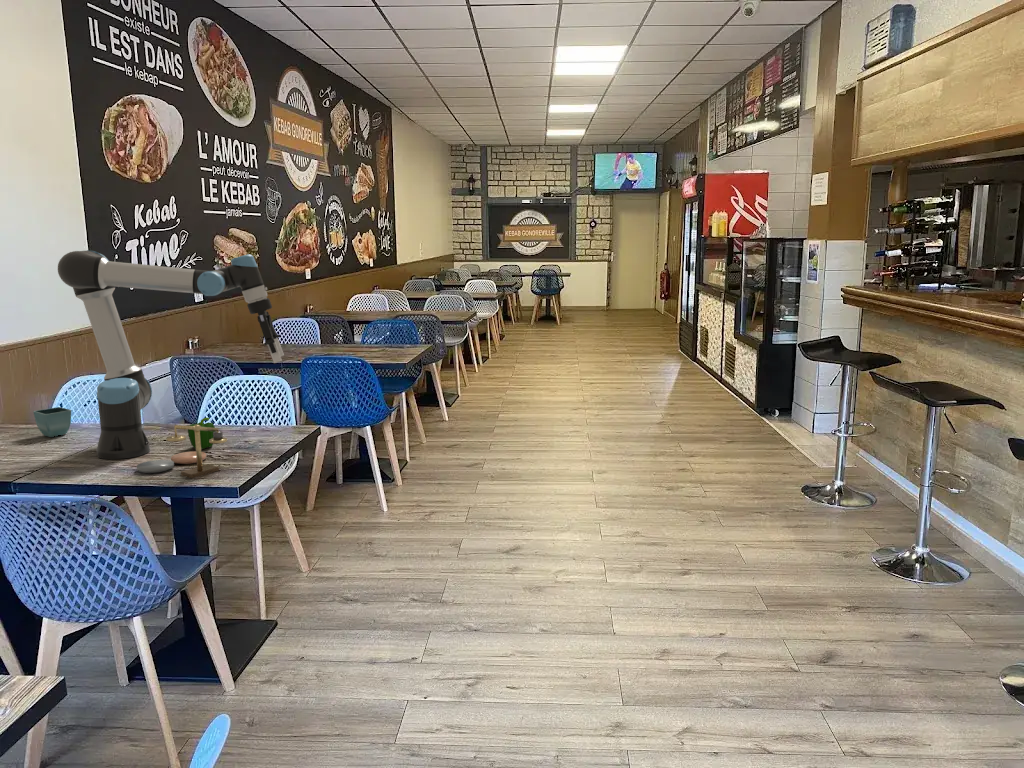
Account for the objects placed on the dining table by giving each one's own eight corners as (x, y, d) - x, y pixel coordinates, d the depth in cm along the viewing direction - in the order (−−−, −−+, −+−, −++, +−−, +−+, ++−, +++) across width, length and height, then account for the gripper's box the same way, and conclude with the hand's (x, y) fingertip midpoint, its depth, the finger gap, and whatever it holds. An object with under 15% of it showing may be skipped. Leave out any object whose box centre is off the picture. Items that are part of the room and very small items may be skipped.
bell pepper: (184, 450, 242) (182, 420, 240) (195, 444, 250) (193, 415, 248) (209, 451, 241) (207, 421, 240) (220, 444, 249) (218, 415, 248)
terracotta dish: (164, 462, 229) (164, 457, 228) (193, 454, 237) (192, 449, 237) (184, 467, 224) (184, 462, 223) (213, 459, 232) (212, 454, 232)
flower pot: (74, 434, 262) (72, 409, 260) (48, 439, 254) (45, 414, 253) (61, 431, 266) (59, 406, 265) (35, 436, 259) (32, 411, 257)
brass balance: (166, 479, 212) (161, 425, 209) (221, 464, 227) (218, 413, 224) (176, 482, 209) (172, 428, 206) (232, 466, 224) (229, 415, 222)
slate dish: (130, 471, 220) (129, 465, 219) (161, 462, 228) (161, 457, 228) (150, 476, 214) (149, 471, 214) (181, 468, 223) (181, 463, 222)
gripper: (265, 299, 241) (288, 360, 246) (271, 295, 265) (291, 351, 270) (242, 306, 240) (265, 367, 245) (250, 301, 264) (271, 357, 269)
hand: (279, 359), depth 257 cm, fingers open, 13 cm apart
